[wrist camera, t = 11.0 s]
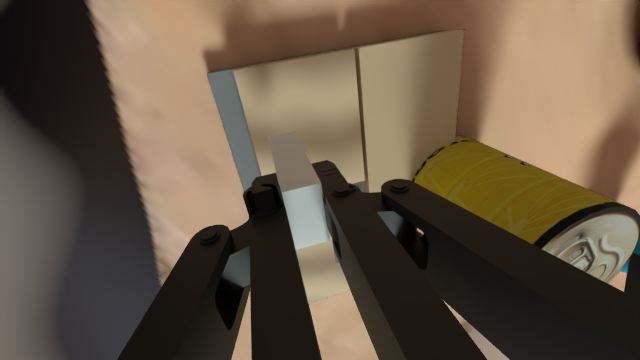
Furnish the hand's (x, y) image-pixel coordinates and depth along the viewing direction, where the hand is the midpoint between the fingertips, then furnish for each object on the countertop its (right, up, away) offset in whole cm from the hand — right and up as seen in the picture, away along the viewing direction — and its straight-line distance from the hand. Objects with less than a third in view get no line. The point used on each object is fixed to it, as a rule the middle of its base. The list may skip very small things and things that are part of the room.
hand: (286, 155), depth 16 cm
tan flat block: (+1, +2, +5) cm, 6 cm away
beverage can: (+14, -1, +11) cm, 18 cm away
